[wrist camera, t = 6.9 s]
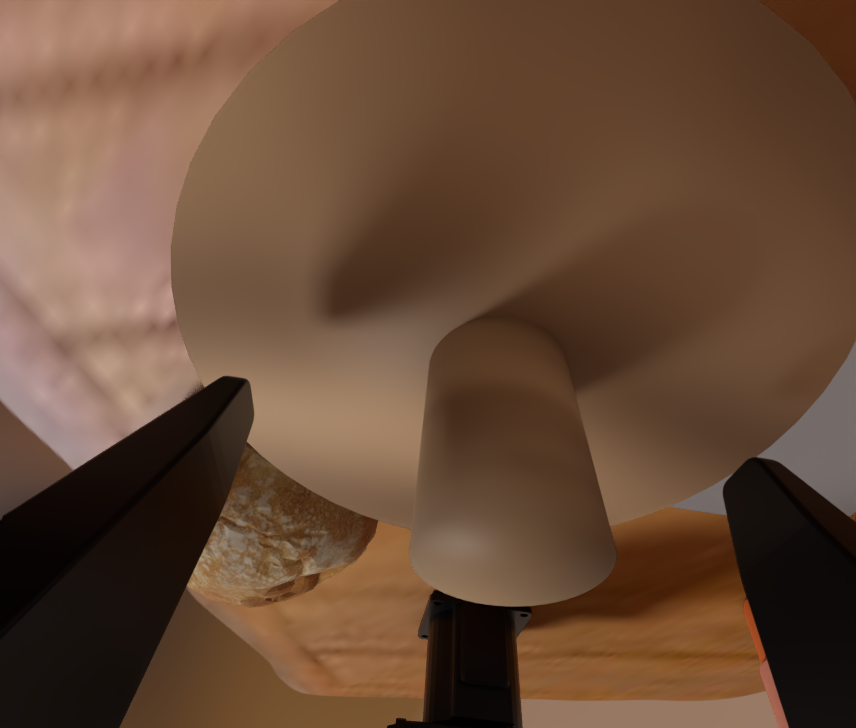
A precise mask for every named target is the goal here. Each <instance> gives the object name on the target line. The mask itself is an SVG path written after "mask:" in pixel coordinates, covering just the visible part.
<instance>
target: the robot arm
mask: <svg viewBox="0 0 856 728" xmlns="http://www.w3.org/2000/svg"><path fill="white" fill-rule="evenodd" d="M253 421H254V405H253V398H252V392H251V385H250V382H249V381H248V380H247V379H245V378H240V377H234V376H222V377H220V378H218V379H217V380H215V381H214V382H212V383H211V384H209V385H207V386H206V387H204V388H203V389H201V390H200V391H198V392H196V393H195V394H193V395H192V396H190V397H188V398H187V399H185V400H184V401H182V402H181V403H179V404H177V405H176V406H174V407H173V408H171V409H170V410H168V411H166V412H165V413H163V414H162V415H160V416H159V417H157V418H155V419H154V420H152V421H151V422H149V423H147V424H146V425H144V426H143V427H141V428H140V429H138V430H136V431H135V432H133V433H132V434H130V435H129V436H127V437H125V438H124V439H122V440H121V441H119V442H118V443H116V444H114V445H113V446H111V447H110V448H108V449H106V450H105V451H103V452H102V453H100V454H99V455H97V456H95V457H94V458H92V459H91V460H89V461H88V462H86V463H84V464H83V465H81V466H80V467H78V468H76V469H75V470H73V471H72V472H70V473H69V474H67V475H65V476H64V477H63V478H61V479H59V480H58V481H56V482H55V483H53V484H51V485H50V486H48V487H47V488H45V489H43V490H42V491H40V492H39V493H37V494H35V495H34V496H32V497H31V498H29V499H28V500H26V501H25V502H23V503H21V504H20V505H18V506H17V507H15V508H13V509H12V510H10V511H9V512H7V513H6V514H4V515H3V517H2V520H0V728H119V727H120V725H121V723H122V721H123V719H124V717H125V715H126V713H127V710H128V708H129V706H130V703H131V702H132V700H133V698H134V696H135V694H136V691H137V689H138V687H139V685H140V683H141V681H142V679H143V677H144V675H145V673H146V670H147V668H148V666H149V664H150V662H151V660H152V658H153V656H154V654H155V651H156V649H157V647H158V645H159V643H160V641H161V639H162V637H163V634H164V632H165V630H166V628H167V626H168V624H169V622H170V619H171V618H172V616H173V614H174V611H175V609H176V607H177V605H178V603H179V601H180V599H181V596H182V595H183V592H184V590H185V588H186V586H187V584H188V582H189V580H190V578H191V576H192V573H193V571H194V569H195V567H196V565H197V563H198V561H199V559H200V557H201V555H202V552H203V550H204V548H205V546H206V544H207V542H208V540H209V538H210V536H211V533H212V531H213V529H214V527H215V525H216V523H217V521H218V519H219V517H220V514H221V512H222V510H223V508H224V505H225V503H226V501H227V498H228V495H229V492H230V490H231V487H232V484H233V481H234V478H235V475H236V472H237V469H238V466H239V463H240V460H241V457H242V454H243V451H244V448H245V445H246V442H247V440H248V437H249V434H250V431H251V428H252V425H253ZM723 500H724V504H725V509H726V514H727V518H728V523H729V528H730V532H731V537H732V542H733V546H734V551H735V556H736V560H737V565H738V569H739V573H740V577H741V580H742V584H743V587H744V590H745V593H746V597H747V600H748V603H749V606H750V609H751V612H752V615H753V618H754V621H755V625H756V628H757V631H758V634H759V637H760V640H761V643H762V646H763V649H764V652H765V656H766V659H767V662H768V665H769V668H770V671H771V674H772V677H773V680H774V684H775V687H776V690H777V693H778V696H779V699H780V702H781V705H782V708H783V711H784V715H785V718H786V721H787V724H788V727H789V728H856V522H855V521H854V520H853V519H851V518H850V517H849V516H847V515H846V514H845V513H844V512H842V511H841V510H840V509H839V508H837V507H836V506H835V505H833V504H832V503H831V502H830V501H828V500H827V499H826V498H825V497H823V496H822V495H821V494H819V493H818V492H817V491H816V490H814V489H813V488H812V487H811V486H809V485H808V484H807V483H805V482H804V481H803V480H802V479H800V478H799V477H798V476H797V475H795V474H794V473H793V472H791V471H790V470H789V469H788V468H786V467H785V466H784V465H783V464H781V463H780V462H778V461H775V460H772V459H765V458H759V457H752V458H749V459H747V460H746V461H745V462H744V463H743V464H742V465H741V466H740V467H739V468H738V469H737V470H736V471H735V472H734V473H733V475H732V476H731V477H730V478H729V479H728V480H727V481H726V482H725V484H724V486H723ZM531 617H532V609H531V607H529V606H495V605H486V604H480V603H474V602H470V601H466V600H462V599H459V598H456V597H453V596H450V595H447V594H439V593H435V594H431V595H430V597H429V600H428V603H427V606H426V609H425V612H424V615H423V618H422V620H421V623H420V626H419V629H418V637H419V638H421V639H427V640H428V647H427V662H426V678H425V694H424V710H423V722H417V721H406V719H403V718H397V719H396V724H393V725H389V726H387V728H523V727H522V713H521V699H520V685H519V671H518V657H517V643H516V638H517V636H518V635H519V633H520V632H521V631H522V629H523V628H524V627H525V625H526V624H527V622H528V621H529V620H530V618H531Z"/></svg>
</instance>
